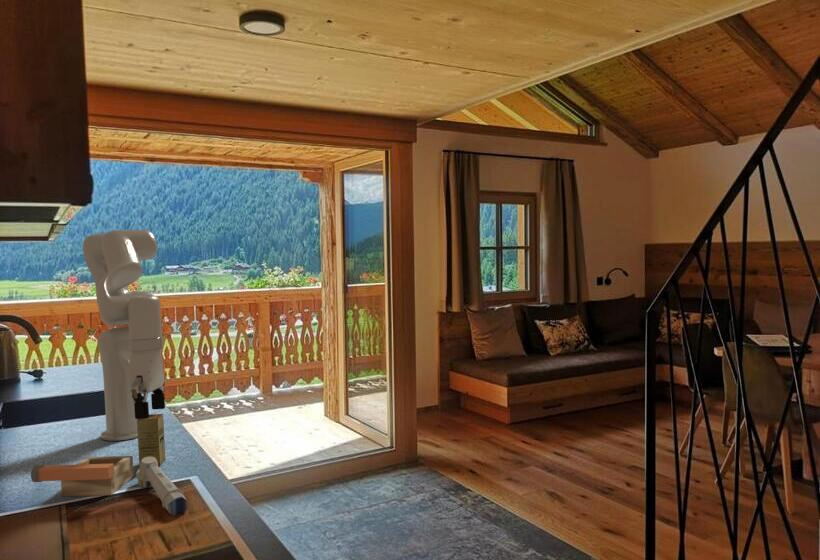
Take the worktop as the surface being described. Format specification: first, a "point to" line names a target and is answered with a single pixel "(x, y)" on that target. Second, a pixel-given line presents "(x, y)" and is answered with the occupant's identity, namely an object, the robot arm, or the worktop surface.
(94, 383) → the worktop surface
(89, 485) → the socket
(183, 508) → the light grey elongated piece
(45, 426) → the worktop surface
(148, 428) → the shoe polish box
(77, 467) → the bar
